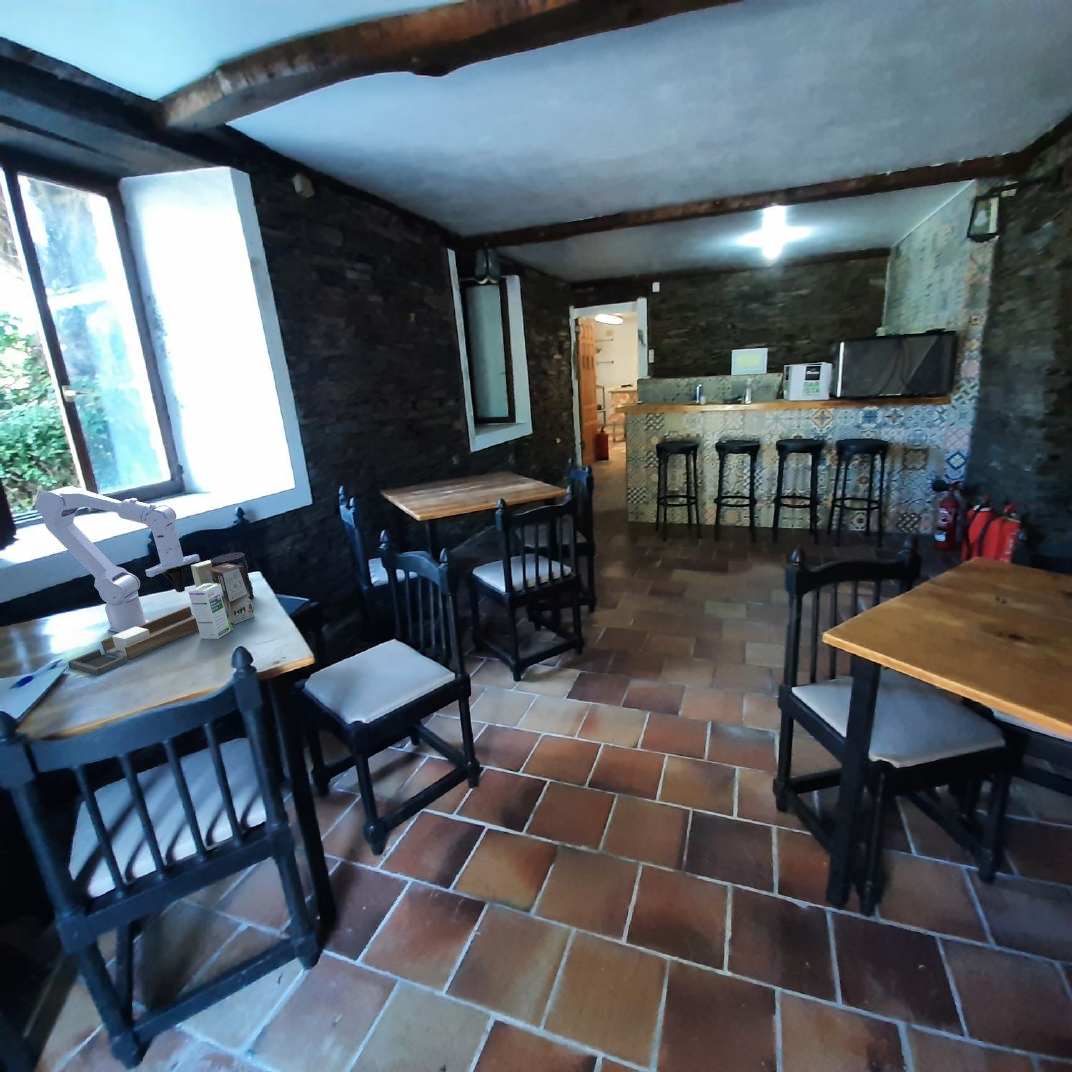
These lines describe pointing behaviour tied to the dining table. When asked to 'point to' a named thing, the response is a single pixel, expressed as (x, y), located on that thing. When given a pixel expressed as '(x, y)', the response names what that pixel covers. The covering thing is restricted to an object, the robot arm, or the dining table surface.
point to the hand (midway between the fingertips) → (180, 591)
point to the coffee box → (233, 590)
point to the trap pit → (96, 662)
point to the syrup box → (210, 611)
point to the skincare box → (201, 572)
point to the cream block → (129, 637)
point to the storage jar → (236, 560)
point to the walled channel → (157, 633)
